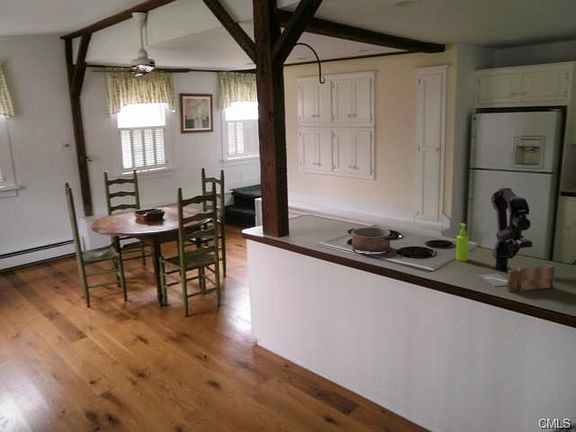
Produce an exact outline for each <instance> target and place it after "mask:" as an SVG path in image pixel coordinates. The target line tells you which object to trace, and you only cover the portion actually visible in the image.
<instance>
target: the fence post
mask: <svg viewBox="0 0 576 432" xmlns="http://www.w3.org/2000/svg"><path fill="white" fill-rule="evenodd" d="M522 268H523V267H517V269H509V270H507V272H508V273H507V280H508V283H507V286H506V291H507V292H508V293H510V292H511V293H513V292H522V290H521V284H522V273H523V269H522Z"/></svg>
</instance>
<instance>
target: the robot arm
mask: <svg viewBox="0 0 576 432" xmlns="http://www.w3.org/2000/svg"><path fill="white" fill-rule="evenodd" d="M490 200H491V201H490V202H491V204H492V207H493V209H494V210H495V211H496V221H497V222H496V223H497V224H496V225H497V232H496V233H495V237H496V239H497V241H496V243H495V245H494V248H493V250H492V251H491V252H492V256H493V258H494V259H495V266H493V267H492V269H493V270H497V271H501V272H508V270H511V267H510V266H509V260H510V259H513V258H514V257H516V255H517V254H518V253H519V251H520V249H525V248H533V242H532V240H530V239H527V238H524V235H523V231H527V230H528V229H530V227H531V221H530V219H528V217H527V216H528V215H530V207H529V203H528V201H527V199H526V198H525V197H522V196H517V194H515V193H514V191H512V188H511V187H510V188H509V187H502V188H500V189H498V191H496V192H494V193H493V194H492V196H491V199H490ZM507 210H508V212H507ZM508 213H509V219H508V215H507V214H508Z"/></svg>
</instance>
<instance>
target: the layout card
mask: <svg viewBox="0 0 576 432" xmlns="http://www.w3.org/2000/svg"><path fill="white" fill-rule="evenodd" d="M478 277H479V278H481V279H482V280H484V281H485V282H486V283H488V284H489V285H491V286H492V287H494V288H496V287H507V283H508V278H505V277H504V276H502V275H501V274H499V273H490V274H489V273H488V274H478Z"/></svg>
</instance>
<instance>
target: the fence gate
mask: <svg viewBox="0 0 576 432" xmlns="http://www.w3.org/2000/svg"><path fill="white" fill-rule="evenodd" d="M555 267H556V266H555V265H554V264H551V265H547V266H535V267H534V266H533V267H524V268H523V267H521V268H522V269H523V273H522V284H521V291H528V290H538V289H547V288H548V289H550V288H552V289H553V287H554V276H555Z"/></svg>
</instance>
